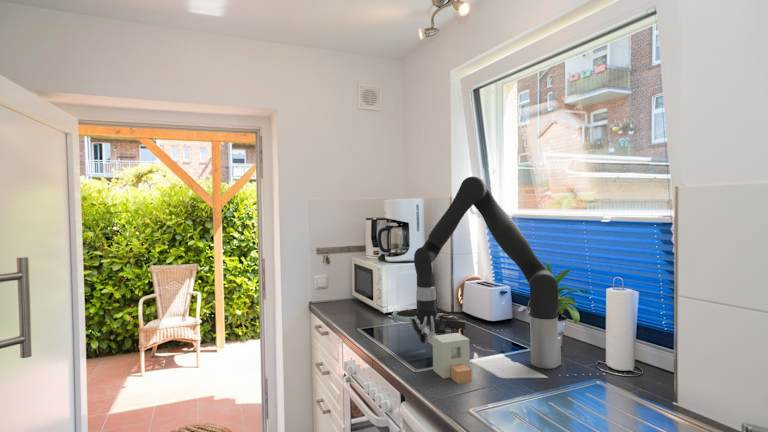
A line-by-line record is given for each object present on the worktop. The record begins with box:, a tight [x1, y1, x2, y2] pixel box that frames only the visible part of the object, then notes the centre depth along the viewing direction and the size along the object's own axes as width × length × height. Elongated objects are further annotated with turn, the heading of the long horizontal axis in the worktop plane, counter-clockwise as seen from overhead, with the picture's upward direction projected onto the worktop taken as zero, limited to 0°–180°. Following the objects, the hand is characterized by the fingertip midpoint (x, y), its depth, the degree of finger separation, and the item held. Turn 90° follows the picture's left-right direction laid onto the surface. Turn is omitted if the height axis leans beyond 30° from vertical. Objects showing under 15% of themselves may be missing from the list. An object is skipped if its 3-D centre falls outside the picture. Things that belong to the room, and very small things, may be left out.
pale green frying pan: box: [391, 309, 420, 324], centre depth 225 cm, size 18×4×25 cm
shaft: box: [415, 325, 458, 357], centre depth 160 cm, size 4×28×4 cm, turn 19°
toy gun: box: [434, 314, 467, 334], centre depth 202 cm, size 5×21×15 cm
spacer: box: [450, 365, 473, 385], centre depth 142 cm, size 5×5×4 cm
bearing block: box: [432, 332, 471, 379], centre depth 148 cm, size 10×8×12 cm
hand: (427, 341), depth 167 cm, fingers closed on shaft, 3 cm apart
